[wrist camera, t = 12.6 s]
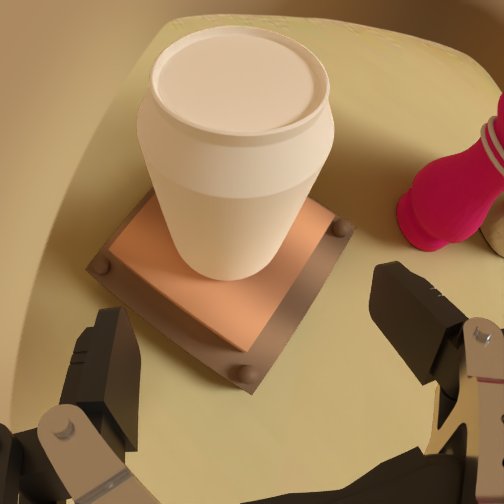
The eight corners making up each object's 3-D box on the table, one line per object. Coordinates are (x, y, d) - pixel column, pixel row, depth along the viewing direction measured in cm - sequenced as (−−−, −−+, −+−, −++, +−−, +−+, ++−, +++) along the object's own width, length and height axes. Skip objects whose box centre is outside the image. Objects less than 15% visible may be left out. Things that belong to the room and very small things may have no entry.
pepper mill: (439, 271, 26) (614, 168, 7) (380, 228, 27) (538, 70, 8) (456, 215, 28) (590, 104, 10) (404, 175, 29) (523, 30, 10)
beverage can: (243, 171, 20) (268, 4, 9) (299, 250, 19) (395, 111, 8) (156, 217, 19) (99, 55, 7) (208, 305, 17) (189, 207, 6)
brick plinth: (205, 154, 27) (203, 108, 22) (342, 241, 26) (372, 210, 20) (99, 279, 23) (67, 256, 17) (247, 390, 22) (257, 401, 16)
